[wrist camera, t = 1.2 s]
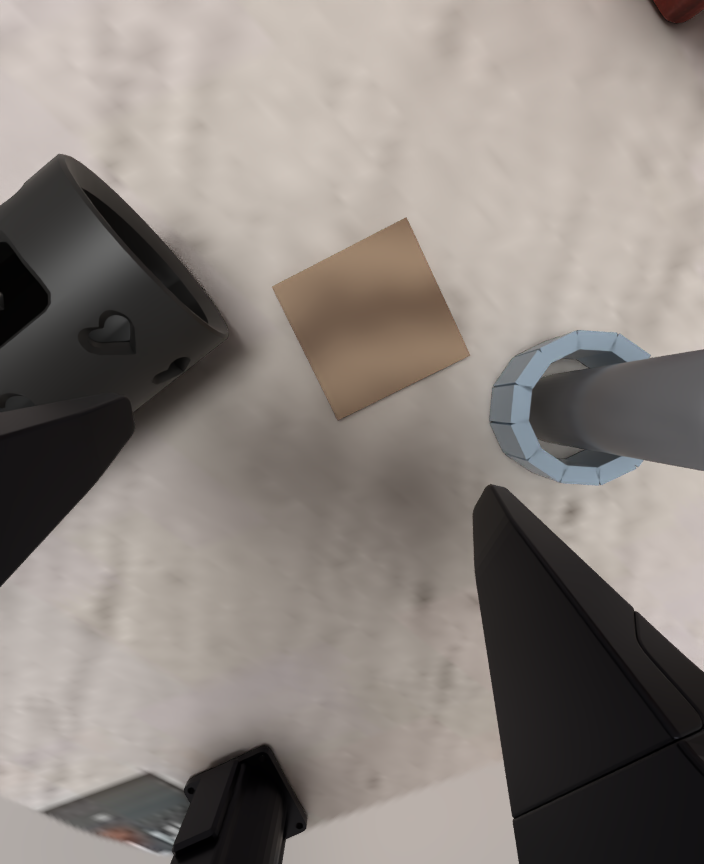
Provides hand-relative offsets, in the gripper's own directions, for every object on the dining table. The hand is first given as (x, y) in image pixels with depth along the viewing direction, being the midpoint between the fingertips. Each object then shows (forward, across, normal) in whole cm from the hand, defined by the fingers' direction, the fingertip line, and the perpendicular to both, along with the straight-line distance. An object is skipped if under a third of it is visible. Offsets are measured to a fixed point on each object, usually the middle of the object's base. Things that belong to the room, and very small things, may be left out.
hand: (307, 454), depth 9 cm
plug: (+14, -13, +3) cm, 20 cm away
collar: (+14, -13, +3) cm, 20 cm away
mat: (+15, -1, 0) cm, 15 cm away
